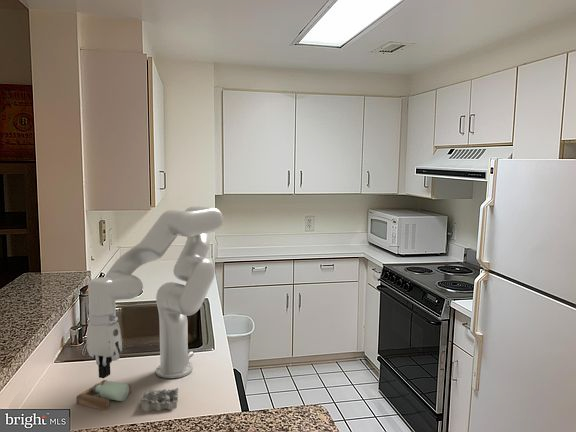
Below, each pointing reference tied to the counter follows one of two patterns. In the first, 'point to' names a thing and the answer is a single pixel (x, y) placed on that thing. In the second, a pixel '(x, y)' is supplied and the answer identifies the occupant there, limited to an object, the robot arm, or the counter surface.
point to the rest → (94, 398)
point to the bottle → (112, 390)
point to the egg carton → (153, 397)
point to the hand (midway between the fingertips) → (104, 376)
